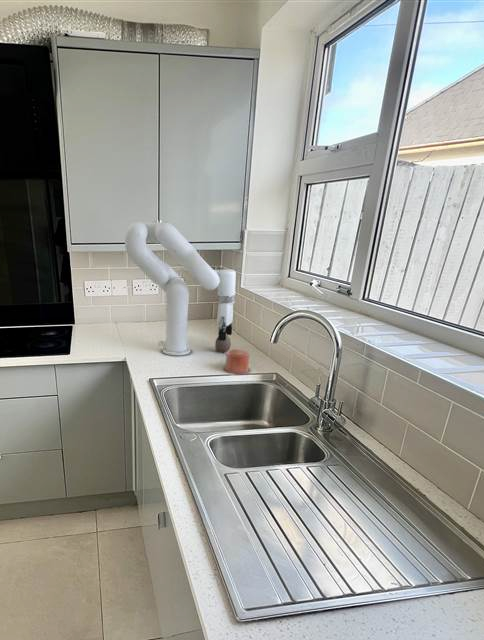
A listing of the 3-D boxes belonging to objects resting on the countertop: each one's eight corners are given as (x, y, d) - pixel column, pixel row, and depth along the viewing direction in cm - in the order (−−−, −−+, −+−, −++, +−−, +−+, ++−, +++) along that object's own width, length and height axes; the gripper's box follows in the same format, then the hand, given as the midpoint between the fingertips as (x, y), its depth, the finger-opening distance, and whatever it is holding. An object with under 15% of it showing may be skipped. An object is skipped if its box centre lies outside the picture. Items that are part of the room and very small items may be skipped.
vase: (229, 354, 181) (231, 335, 177) (214, 353, 182) (215, 334, 179) (230, 349, 187) (231, 331, 184) (215, 348, 188) (216, 330, 185)
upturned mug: (245, 374, 157) (246, 357, 154) (222, 371, 160) (223, 354, 157) (251, 365, 167) (253, 348, 164) (230, 362, 170) (231, 345, 167)
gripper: (223, 295, 184) (222, 331, 191) (211, 302, 170) (211, 341, 176) (239, 296, 181) (238, 333, 188) (229, 303, 167) (228, 343, 173)
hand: (225, 337), depth 182 cm, fingers open, 9 cm apart
